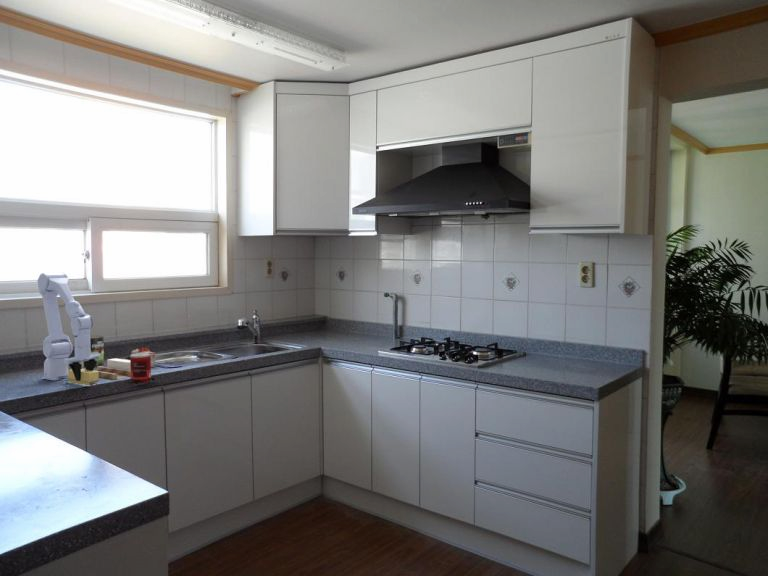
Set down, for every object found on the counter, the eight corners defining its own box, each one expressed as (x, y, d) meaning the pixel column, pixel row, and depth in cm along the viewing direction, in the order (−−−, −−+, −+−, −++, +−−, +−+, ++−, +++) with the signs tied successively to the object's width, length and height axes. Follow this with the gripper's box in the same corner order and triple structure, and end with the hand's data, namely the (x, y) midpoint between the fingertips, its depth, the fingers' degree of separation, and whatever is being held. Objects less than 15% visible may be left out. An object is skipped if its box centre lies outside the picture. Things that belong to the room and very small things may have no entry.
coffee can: (109, 366, 279) (108, 335, 278) (91, 369, 269) (90, 338, 268) (92, 364, 282) (91, 334, 282) (74, 368, 273) (73, 337, 272)
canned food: (144, 378, 250) (144, 352, 250) (154, 381, 245) (154, 354, 245) (127, 381, 244) (126, 354, 244) (137, 384, 239) (136, 356, 239)
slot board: (81, 377, 252) (81, 369, 252) (114, 371, 266) (114, 363, 265) (114, 383, 241) (114, 374, 241) (147, 376, 254) (147, 368, 254)
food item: (158, 369, 270) (157, 348, 269) (140, 372, 264) (140, 350, 263) (145, 366, 279) (144, 345, 279) (128, 368, 273) (127, 346, 273)
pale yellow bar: (68, 382, 243) (68, 369, 243) (77, 380, 247) (77, 368, 246) (89, 385, 236) (89, 373, 236) (98, 384, 239) (98, 371, 239)
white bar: (107, 371, 258) (107, 359, 258) (115, 369, 262) (115, 358, 261) (128, 374, 251) (128, 362, 251) (136, 372, 255) (136, 361, 254)
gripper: (71, 349, 232) (72, 383, 233) (105, 344, 245) (106, 377, 245) (60, 347, 236) (61, 381, 236) (94, 343, 248) (95, 375, 249)
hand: (83, 379), depth 241 cm, fingers closed on pale yellow bar, 4 cm apart
